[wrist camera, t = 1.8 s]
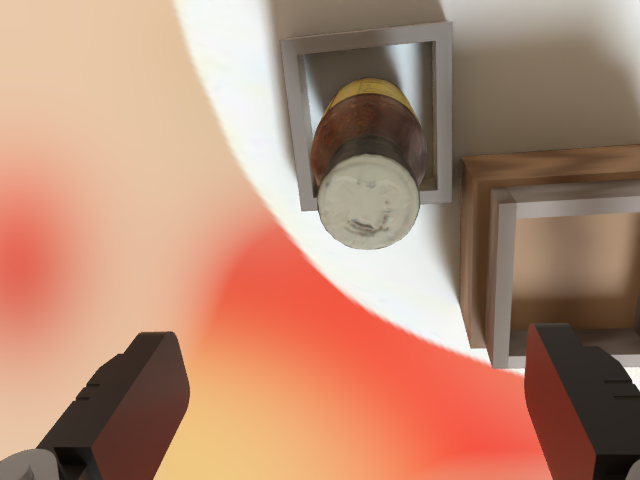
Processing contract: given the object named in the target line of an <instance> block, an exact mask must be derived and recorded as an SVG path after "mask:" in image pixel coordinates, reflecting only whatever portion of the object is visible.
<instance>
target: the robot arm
mask: <svg viewBox="0 0 640 480" xmlns="http://www.w3.org/2000/svg"><path fill="white" fill-rule="evenodd" d="M524 389H525V398H526V404H527V408H528V411H529V415H530V417H531V420H532V423H533V426H534V428H535V431H536V434H537V437H538V439H539V442H540V445H541V448H542V450H543V453H544V456H545V459H546V461H547V464H548V467H549V470H550V472H551V475H552V478H553V480H640V391H639V390H638V388H637V387H636V385H635V384H633V383H632V379H631V378H630V376H629V375H628V373H627V372H626V370H625V369H624V368H623V366H622V365H621V363H620V362H619V361H618V360H617V359H615V358H614V357H612V356H611V355H610V354H608V353H607V352H606V351H604V350H603V349H601V348H600V347H599V346H583V345H582V343H581V342H580V340H579V338H578V337H577V335H576V333H575V332H574V330H573V328H572V327H571V325H570V324H569V323H533V324H530V325H529V328H528V336H527V350H526V364H525V379H524ZM189 397H190V387H189V381H188V377H187V373H186V370H185V366H184V362H183V358H182V355H181V350H180V346H179V343H178V339H177V337H176V335H175V333H173V332H141V333H139V334H138V335H137V336H136V338H135V339H134V340H133V341H132V343H131V344H130V345H129V347H128V348H127V349H126V351H125V352H124V354H117V355H116V356H115V357H113V358H112V359H111V360H109V361H108V362H107V363H105V364H104V365H103V366H101V367H100V368H99V369H98V370H97V371H96V373H95V374H94V375H93V376H92V378H91V379H90V380H89V382H88V383H87V385H86V387H84V388H83V389H82V390H81V392H80V393H79V394H78V395H77V397H76V401H73V402H72V403H71V404H70V406H69V407H68V408H67V409H66V411H65V412H64V413H63V415H62V416H61V417H60V418H59V419H58V421H57V422H56V423H55V425H54V426H53V427H52V428H51V430H50V431H49V432H48V433H47V435H46V436H45V437H44V439H43V440H42V441H41V442H40V444H39V445H38V446H37V447H36V449H30V450H25V451H21V452H19V453H16V454H13V455H11V456H9V457H7V458H5V459H4V460H2V461H0V480H153V478H154V476H155V474H156V472H157V470H158V468H159V466H160V464H161V462H162V460H163V457H164V455H165V454H166V451H167V449H168V447H169V445H170V443H171V441H172V439H173V437H174V435H175V433H176V431H177V429H178V427H179V425H180V423H181V421H182V419H183V417H184V415H185V413H186V410H187V407H188V404H189Z"/></svg>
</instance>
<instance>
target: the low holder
mask: <svg viewBox="0 0 640 480" xmlns="http://www.w3.org/2000/svg"><path fill="white" fill-rule="evenodd" d="M428 41H432V76H433V147H434V178H423V179H422V181H421V183H420V185H419V192H420V205H421V204H439V203H452V22H451V21H440V22H431V23H422V24H412V25H403V26H394V27H384V28H375V29H366V30H357V31H347V32H338V33H329V34H319V35H310V36H301V37H292V38H286V39H283V40H280V46H281V54H282V61H283V69H284V77H285V85H286V93H287V101H288V109H289V117H290V125H291V133H292V141H293V149H294V157H295V165H296V173H297V180H298V188H299V196H300V204H301V211H317V210H318V209H317V194H318V187H319V186H318V184H317V181H316V178H315V176H314V174H313V172H312V169H311V148H312V144H313V137H312V127H311V118H310V109H309V100H308V91H307V82H306V73H305V64H304V55H303V54H310V53H320V52H330V51H340V50H349V49H359V48H369V47H379V46H388V45H398V44H408V43H418V42H428Z"/></svg>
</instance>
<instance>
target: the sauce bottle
mask: <svg viewBox="0 0 640 480" xmlns="http://www.w3.org/2000/svg"><path fill="white" fill-rule="evenodd" d="M427 158H428V154H427V143H426V139H425V135H424V132H423V130H422V127H421V125H420V123H419V121H418V119H417V117H416V115H415V113H414V111H413V109H412V107H411V106H410V104H409V102H408V100H407V98H406V97H405V95H404V94H403V93H402V92H401V91H400V90H399V89H398V88H397V87H396V86H394V85H393V84H391V83H390V82H388V81H385V80H381V79H376V78H363V79H359V80H356V81H353V82H351V83H349V84H347V85H346V86H344V87H343V88H341V89H340V90H339V92H338V93H337V94H336V95H335V96H334V97H333V99H332V100H331V102H330V103H329V105H328V107H327V109H326V111H325V113H324V115H323V117H322V119H321V121H320V123H319V125H318V127H317V129H316V132H315V136H314V140H313V144H312V148H311V169H312V172H313V174H314V176H315V178H316V181H317V184H318V186H319V187H318V194H317V209H318V213H319V215H320V219H321V222H322V224H323V225H324V227H325V229H326V231H328V232H329V233H330V234H331V235H332V236H333V238H334V239H336V240H338V241H339V242H341V243H343V244H344V245H346V246H348V247H351V248H355V249H365V250H370V249H380V248H384V247H387V246H390V245H392V244H393V243H395V242H397V241H399V240H401V239H402V238H403V237H404V236H405V235H406V234H408V232H409V231H410V230H411V228H412V226H413V225H414V223H415V220H416V218H417V216H418V212H419V209H420V192H419V185H420V183H421V181H422V179H423V176H424V174H425V170H426V166H427Z"/></svg>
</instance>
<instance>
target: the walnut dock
mask: <svg viewBox="0 0 640 480" xmlns="http://www.w3.org/2000/svg"><path fill="white" fill-rule="evenodd" d="M460 309H461V313H462V317H463V320H464V324H465V328H466V332H467V336H468V340H469V344H470V348H487V352H488V355H489V358H490V361H491V365H492V368H493V369H507V368H525V364H526V350H527V336H528V328H529V325H530V324H533V323H569V324H570V325H571V327H572V328H573V330H574V332H575V333H576V335H577V337H578V338H579V340H580V342H581V343H582V345H583V346H599V347H600V348H601V349H603V350H604V351H606V352H607V353H608V354H610V355H611V356H612V357H614V358H615V359H617V360H618V361H619V362H620V363H621V365H622V366H623V367H640V144H636V145H622V146H608V147H593V148H579V149H565V150H550V151H536V152H522V153H507V154H493V155H479V156H464V157H461V214H460Z"/></svg>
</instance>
